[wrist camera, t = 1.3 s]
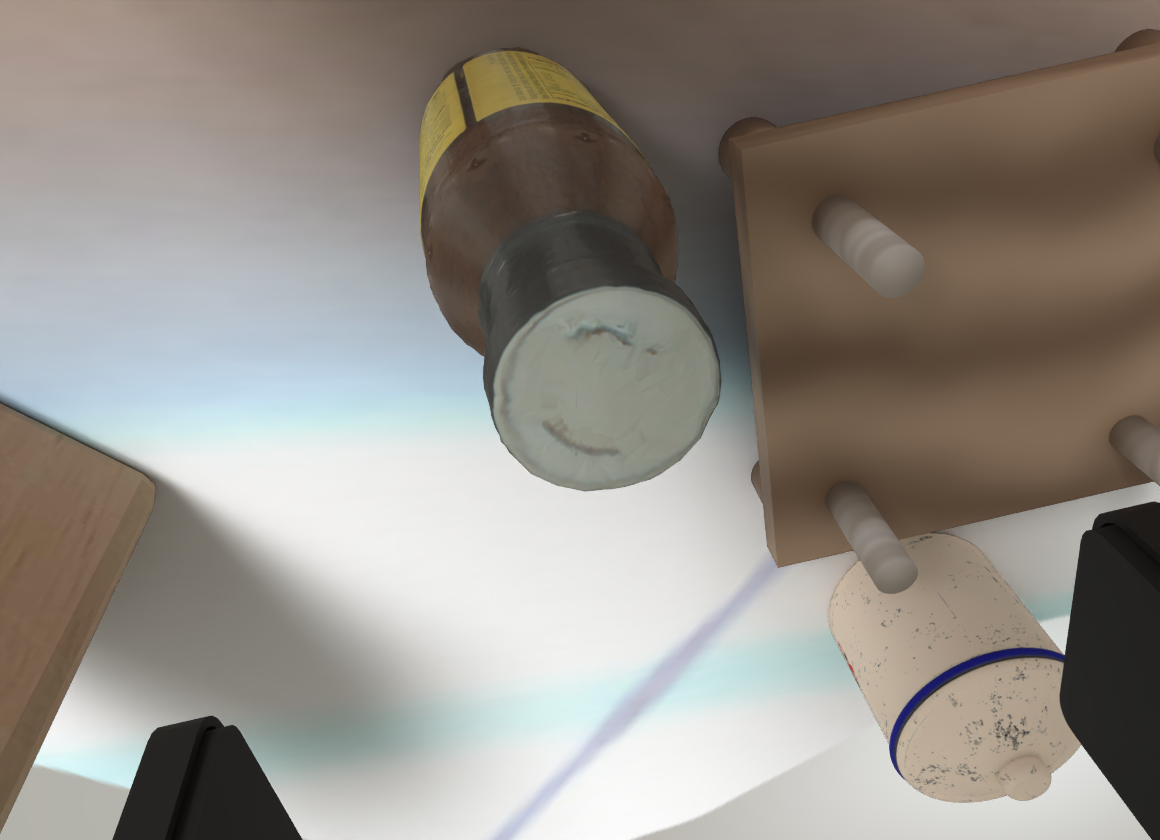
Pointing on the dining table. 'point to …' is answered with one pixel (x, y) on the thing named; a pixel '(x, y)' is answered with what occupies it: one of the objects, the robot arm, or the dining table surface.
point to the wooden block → (54, 574)
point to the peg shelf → (952, 305)
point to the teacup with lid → (956, 675)
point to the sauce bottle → (561, 274)
